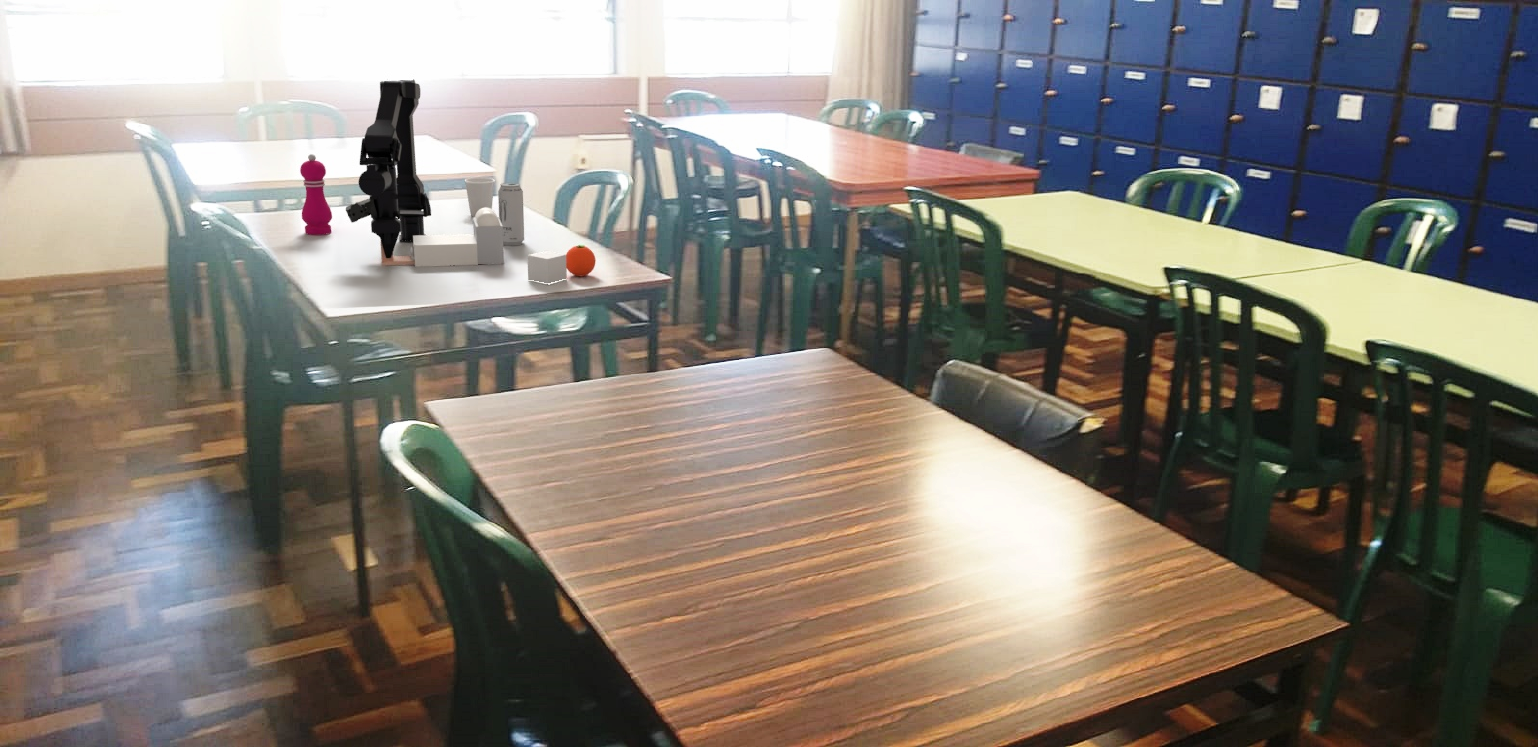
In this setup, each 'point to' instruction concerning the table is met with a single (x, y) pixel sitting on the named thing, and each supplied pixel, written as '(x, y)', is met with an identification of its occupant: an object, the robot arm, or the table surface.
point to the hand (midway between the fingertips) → (388, 255)
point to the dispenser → (463, 244)
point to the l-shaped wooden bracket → (396, 259)
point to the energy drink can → (511, 213)
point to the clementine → (580, 260)
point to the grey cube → (547, 267)
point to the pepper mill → (315, 198)
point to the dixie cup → (479, 193)
